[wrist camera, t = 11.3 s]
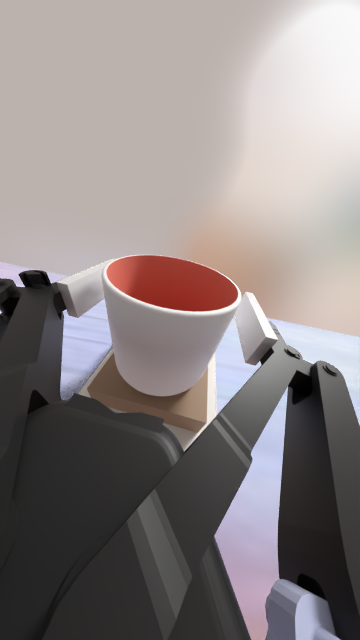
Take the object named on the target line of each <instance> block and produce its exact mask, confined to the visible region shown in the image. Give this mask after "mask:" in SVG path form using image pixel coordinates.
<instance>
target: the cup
mask: <svg viewBox="0 0 360 640" xmlns="http://www.w3.org/2000/svg"><path fill="white" fill-rule="evenodd" d="M101 277H102V283H103V290H104V296H105V302H106V308H107V314H108V320H109V326H110V332H111V338H112V344H113V350H114V356H115V362H116V366H117V369H118V371H119V373H120V375H121V376H122V377H123V379H124V380H125V381H126V382H127V383H128V384H129V385H130V386H132V387H133V388H135V389H136V390H138V391H140V392H142V393H145V394H148V395H153V396H172V395H176V394H179V393H182V392H184V391H186V390H188V389H190V388H191V387H192V386H194V385H195V384H196V383H197V382H198V381H199V380H200V378H201V377H202V375H203V374H204V372H205V370H206V368H207V366H208V364H209V362H210V360H211V358H212V356H213V354H214V352H215V350H216V349H217V347H218V345H219V343H220V341H221V339H222V337H223V335H224V333H225V331H226V329H227V328H228V326H229V324H230V322H231V320H232V318H233V316H234V314H235V312H236V310H237V308H238V307H239V305H240V303H241V292H240V290H239V288H238V287H237V286H236V284H235V283H234V282H233V281H231V280H230V279H229V278H228V277H226V276H225V275H223V274H221V273H220V272H218V271H216V270H214V269H212V268H209V267H207V266H204V265H202V264H199V263H196V262H192V261H189V260H184V259H180V258H175V257H169V256H160V255H132V256H126V257H121V258H118V259H115V260H113V261H111V262H109V263H108V264H107V265H106V266H105V267H104V268H103V271H102V275H101Z"/></svg>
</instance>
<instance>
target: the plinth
mask: <svg viewBox="0 0 360 640" xmlns="http://www.w3.org/2000/svg"><path fill="white" fill-rule="evenodd" d="M78 394H79V395H83V396H86V397H90V398H93V399H96V400H98V401H99V402H101V403H102V404H103V405H105V406H106V407H108V408H109V409H111V410H112V411H113V412H115V413H140V412H142V413H146V414H149V415H153V416H156V417H159V418H163V419H164V422H163V425H164V426H165V427H167V428H168V429H169V430H170V431H171V432H172V433H173V434H174V435H175V436H176V438H177V439H178V441H179V442H180V444H181V446H182V448H183V450H184V451H185V450H186V449H187V448H188V447H189V446H190V445H191V443H192V442H193V441H194V440H195V439H196V438H197V437H198V436H199V435H200V434H201V432H202V431H203V430H204V429H205V428H206V427H207V426H208V425H209V424H210V422H211V421H212V420H213V419H214V418H215V417H216V416H217V408H216V370H215V352H214V354H213V356H212V358H211V360H210V362H209V364H208V366H207V368H206V370H205V372H204V374H203V375H202V377H201V378H200V380H199V381H198V382H197V383H196V384H195V385H194V386H192V387H191V388H190V389H188V390H186V391H184V392H182V393H179V394H176V395H172V396H153V395H148V394H145V393H142V392H140V391H138V390H136V389H135V388H133V387H132V386H130V385H129V384H128V383H127V382H126V381H125V380H124V379H123V377H122V376H121V375H120V373H119V371H118V369H117V366H116V362H115V356H114V350H113V348H112V349H111V350H110V352H109V353H108V354H107V356H106V357H105V358H104V360H103V361H102V362H101V364H100V365H99V366H98V368H97V369H96V370H95V372H94V373H93V374H92V375H91V377H90V378H89V379H88V381H87V382H86V383H85V385H84V386H83V387H82V389H81V390H80V391H79V393H78Z"/></svg>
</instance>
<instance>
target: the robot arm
mask: <svg viewBox="0 0 360 640" xmlns="http://www.w3.org/2000/svg"><path fill="white" fill-rule="evenodd" d="M113 260H115V259H110V260H108V261H105V262H103V263H101V264H98V265H96V266H93V267H91V268H89V269H86V270H84V271H82V272H79V273H76V274H74V275H71V276H69V277H67V278H64V279H62V280H59V281H57V282H55V283H52V284H51V283H50V280H49V278H48V275H47V273H46V272H44V271H40V270H29V271H24V272H21V273H20V274H18V275H19V276H20V278H21V280H22V282H23V284H24V286H25V287H17V286H16V285H15V283H14V281H13V280H11V279H1V278H0V310H1V312H2V313H1V314H0V640H251V638H250V636H249V633H248V630H247V627H246V624H245V622H244V619H243V616H242V613H241V610H240V607H239V605H238V602H237V599H236V596H235V593H234V591H233V588H232V585H231V582H230V579H229V577H228V574H227V571H226V568H225V565H224V562H223V560H222V557H221V554H220V551H219V548H218V546H217V543H216V540H215V537H214V535H215V533H216V531H217V529H218V527H219V525H220V523H221V521H222V520H223V518H224V516H225V514H226V512H227V510H228V508H229V506H230V504H231V502H232V500H233V499H234V497H235V495H236V493H237V491H238V489H239V487H240V485H241V483H242V481H243V479H244V478H245V476H246V474H247V472H248V470H249V468H250V465H251V463H252V457H251V451H252V449H253V447H254V445H255V444H256V442H257V440H258V438H259V436H260V435H261V433H262V431H263V429H264V428H265V426H266V424H267V422H268V420H269V419H270V417H271V415H272V413H273V411H274V410H275V408H276V406H277V404H278V402H279V401H280V399H281V397H282V395H283V394H284V392H285V390H286V388H287V386H288V396H287V410H286V423H285V437H284V451H283V465H282V479H281V492H280V506H279V520H278V563H279V578H280V580H278V581H276V582H275V584H274V585H273V587H272V589H271V593H270V594H269V595H268V597H267V599H266V605H265V608H266V618H267V622H268V631H267V636H266V640H360V426H359V423H358V420H357V417H356V414H355V410H354V407H353V404H352V401H351V398H350V395H349V392H348V389H347V386H346V383H345V379H344V377H343V375H342V374H341V373H340V372H339V370H338V369H337V368H335V367H334V366H333V365H330V364H329V363H326V362H324V361H317V362H316V363H315V364H311V363H309V362H307V361H305V360H303V359H302V356H301V354H300V353H299V352H298V351H297V350H296V349H294V348H293V347H291V346H288V345H286V343H285V341H284V340H283V338H282V336H281V335H280V333H279V331H278V330H277V328H276V326H275V325H274V324H273V323H272V322H271V321H268V320H267V318H266V317H265V315H264V313H263V311H262V309H261V307H260V305H259V304H258V302H257V300H256V298H255V296H254V295H253V294H252V293H248V292H245V294H244V296H243V298H242V299H241V303H240V305H239V307H238V308H237V310H236V312H235V314H234V316H235V320H236V325H237V329H238V333H239V337H240V342H241V346H242V350H243V355H244V359H245V363H248V364H252V365H257V363H258V362H259V361H260V362H261V364H262V366H261V367H260V368H259V369H258V370H257V371H256V372H255V373H254V374H253V375H252V377H251V378H250V379H249V380H248V381H247V382H246V383H245V384H244V386H243V387H242V388H241V389H240V390H239V391H238V392H237V393H236V394H235V396H234V397H233V398H232V399H231V400H230V401H229V402H228V403H227V405H226V406H225V407H224V408H223V409H222V410H221V411H220V412H219V413H218V415H217V416H216V417H215V418H214V419H213V420H212V421H211V422H210V424H209V425H208V426H207V427H206V428H205V429H204V430H203V431H202V432H201V434H200V435H199V436H198V437H197V438H196V439H195V440H194V441H193V442H192V443H191V445H190V446H189V447H188V448H187V449H186V450H185V451H184V450H183V448H182V446H181V444H180V442H179V441H178V439H177V438H176V436H175V435H174V434H173V433H172V432H171V431H170V430H169V429H168V428H167V427H165V426H164V425H163V422H164V419H163V418H159V417H156V416H153V415H149V414H146V413H142V412H140V413H115V412H113V411H112V410H111V409H109V408H108V407H106V406H105V405H103V404H102V403H101V402H99V401H98V400H96V399H93V398H90V397H86V396H83V395H79V394H76V393H74V395H73V396H72V397H71V399H70V400H62V401H61V397H60V380H61V361H62V342H63V323H64V315H63V312H62V311H64V310H66V309H67V312H68V314H69V316H73V317H77V318H79V317H80V316H81V315H83V314H84V313H85V312H87V311H88V310H89V309H91V308H92V307H93V306H95V305H96V304H97V303H99V302H100V301H101V300H103V299H104V298H105V296H104V290H103V283H102V277H101V275H102V271H103V268H104V267H105V266H106V265H107V264H108V263H109V262H111V261H113Z"/></svg>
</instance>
